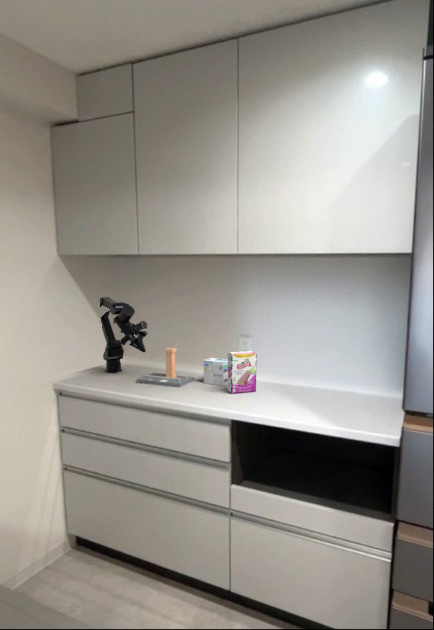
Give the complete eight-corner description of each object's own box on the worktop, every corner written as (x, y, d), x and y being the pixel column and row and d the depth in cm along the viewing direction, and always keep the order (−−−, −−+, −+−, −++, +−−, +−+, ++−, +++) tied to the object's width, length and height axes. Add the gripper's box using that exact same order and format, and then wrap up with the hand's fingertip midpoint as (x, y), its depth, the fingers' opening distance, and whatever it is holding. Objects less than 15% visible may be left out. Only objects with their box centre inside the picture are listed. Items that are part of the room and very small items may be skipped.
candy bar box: (231, 394, 175) (231, 354, 173) (227, 391, 180) (227, 352, 178) (256, 391, 178) (257, 352, 177) (252, 388, 183) (252, 350, 182)
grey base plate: (136, 382, 195) (136, 376, 195) (153, 376, 208) (153, 370, 207) (179, 387, 186) (179, 381, 186) (194, 380, 199) (194, 374, 199)
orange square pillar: (164, 378, 195) (164, 349, 193) (169, 376, 198) (168, 347, 197) (172, 379, 193) (172, 349, 192) (176, 377, 197) (176, 348, 195)
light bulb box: (231, 383, 193) (231, 359, 192) (223, 386, 187) (223, 361, 187) (211, 380, 199) (211, 357, 198) (203, 383, 193) (203, 359, 192)
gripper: (128, 316, 194) (149, 343, 192) (145, 314, 212) (164, 339, 210) (111, 331, 196) (131, 358, 195) (129, 328, 215) (148, 353, 213)
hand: (145, 351), depth 203 cm, fingers closed
